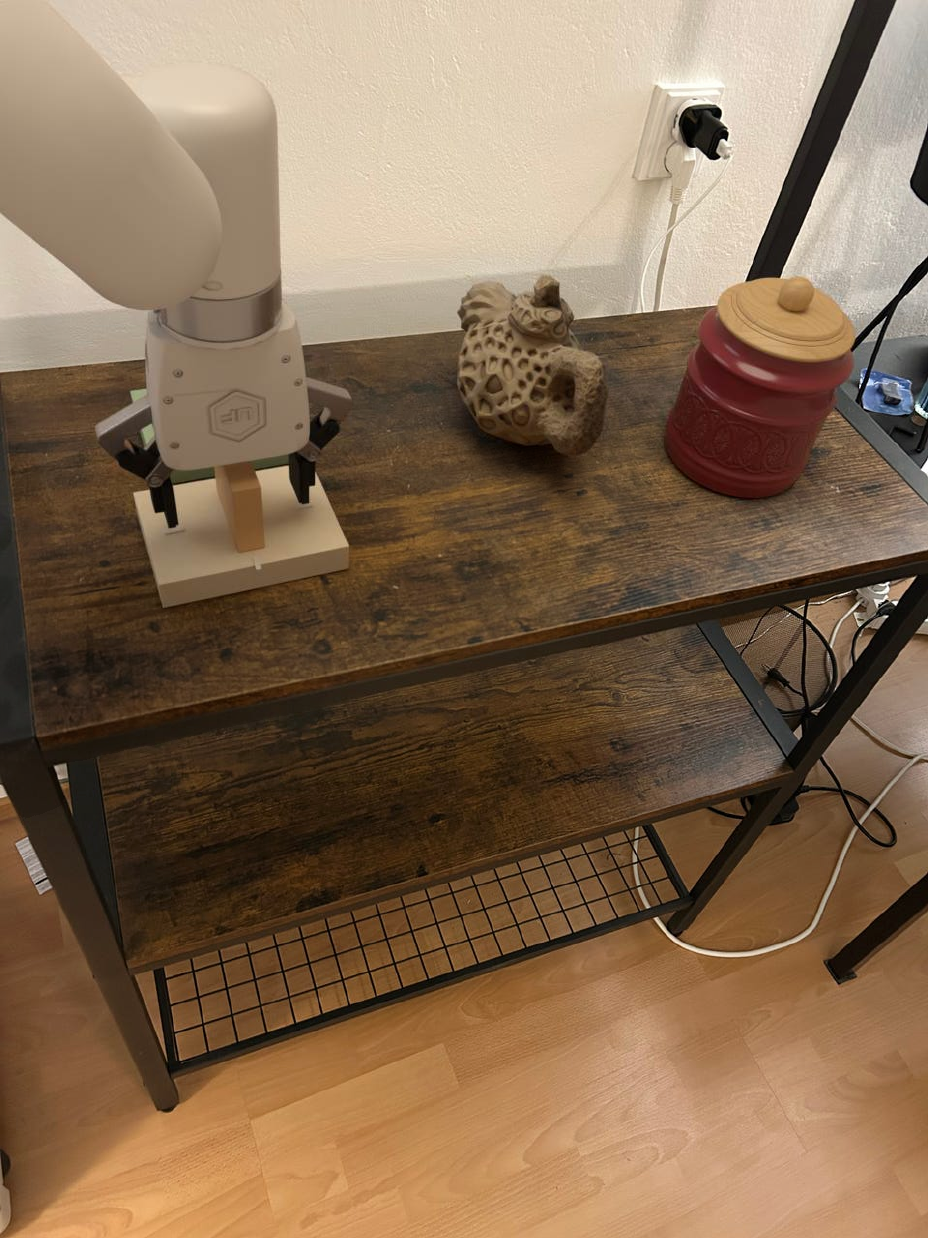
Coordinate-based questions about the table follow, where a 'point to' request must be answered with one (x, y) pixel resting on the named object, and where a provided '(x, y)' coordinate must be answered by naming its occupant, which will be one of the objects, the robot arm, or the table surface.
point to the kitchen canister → (759, 386)
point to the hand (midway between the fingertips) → (235, 503)
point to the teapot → (529, 368)
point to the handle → (241, 504)
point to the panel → (206, 552)
